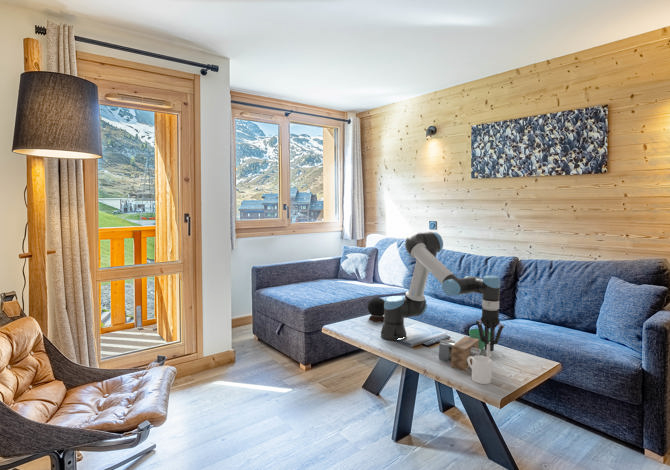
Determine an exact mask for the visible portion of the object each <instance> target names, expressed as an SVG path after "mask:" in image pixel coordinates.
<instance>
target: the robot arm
mask: <svg viewBox="0 0 670 470" xmlns="http://www.w3.org/2000/svg"><path fill="white" fill-rule="evenodd" d="M404 247H405V249H406V252H407V253H408V255H409V256H410V257H411V258H413V259H416V260H415V266H414V269H413V272H412V273H413V274H412V277H411V282H410V286H409V290H408V291H406V292H405V296H401V295H392V296H388V297H387V298H385V299H384V301H385V303H384V315H383V316H384V321H383V325H382V328H381V330H380V337H381V338H382V339H384V340H388V341H393V342H395V341H397V339H398V338H403V337H406V338H407V331H406V327H405V322H404V321H405V319H407V318H413V317H419V316H423V314H425V313H426V311H427V309H428V304H427V299H426V297H425V295H424V292H425V289H426V285H427V281H428V278H429V274H431V275H432V276H433V277H434V278H435V279H436V280H437V281H438V282H439V283H440V284H441V287H442V290H443V293H444V294H445V295H447V296H458V295H466V294H473V293H475V294H479V295H482V301H481V306H482V308H481V318H480V319H478V320H476V321H475V324H476V326H477V329H479V334H480V339H481V341H482V342H484V343H485V347H484V350H485V351H486V357H488V358H490V359H491V358H492V353H493V352H494V349H495V348H494V347H495V345H498V343H499V341H500V338H501V334H502V333H503V330H504V328H505V324H502V323H501V321H500V310H499V309H500V294H501V279H500V277H499V276H496V275H484V276H483V278H481V277H476V276H473V275H466V276H464V277H463V278H459V277H458V276H456V275H455V274H454V273H453V272H452V271H451V270H450V269H449V268H448V267H446V266H445V264H443V263H442V262H441V261H440V260H439V259H438V258H437V253H440V252H441V251H442V250H443V247H444V240H443V238H442V236H441V235H440V234H439V233H438V232H437V231H434V232H433V231H425V232H424V231H423V232H418V231H417V232H413V233H411V234H409V235H408V237H407V238H406V240H405V244H404ZM483 326H484V329H483ZM496 327H498V329H497V332H496V335H495V331H496ZM483 330H485V337H484V332H483ZM489 331H490V342H489ZM488 342H489V343H488Z"/></svg>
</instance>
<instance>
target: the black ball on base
mask: <svg viewBox="0 0 670 470" xmlns="http://www.w3.org/2000/svg"><path fill="white" fill-rule="evenodd" d="M384 303H385V299H383V298H381V297H374V298H372V299H370V300H369V302H368V304H367V311H368V313H369V314H370V316H369V317H368V319H369V321H371V322H373V323H374V322H375V323H382V322H383V323H384Z"/></svg>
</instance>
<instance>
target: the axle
mask: <svg viewBox="0 0 670 470" xmlns="http://www.w3.org/2000/svg"><path fill="white" fill-rule="evenodd" d="M439 343H444V344H448V345H450V350H452V345H454V344H455V343H456V342H455V343H452V342H448V341H444V340H442V339H441V340H440V341H439ZM471 355H474V356H482V351H481V349H477V348H473V347H471Z"/></svg>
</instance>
